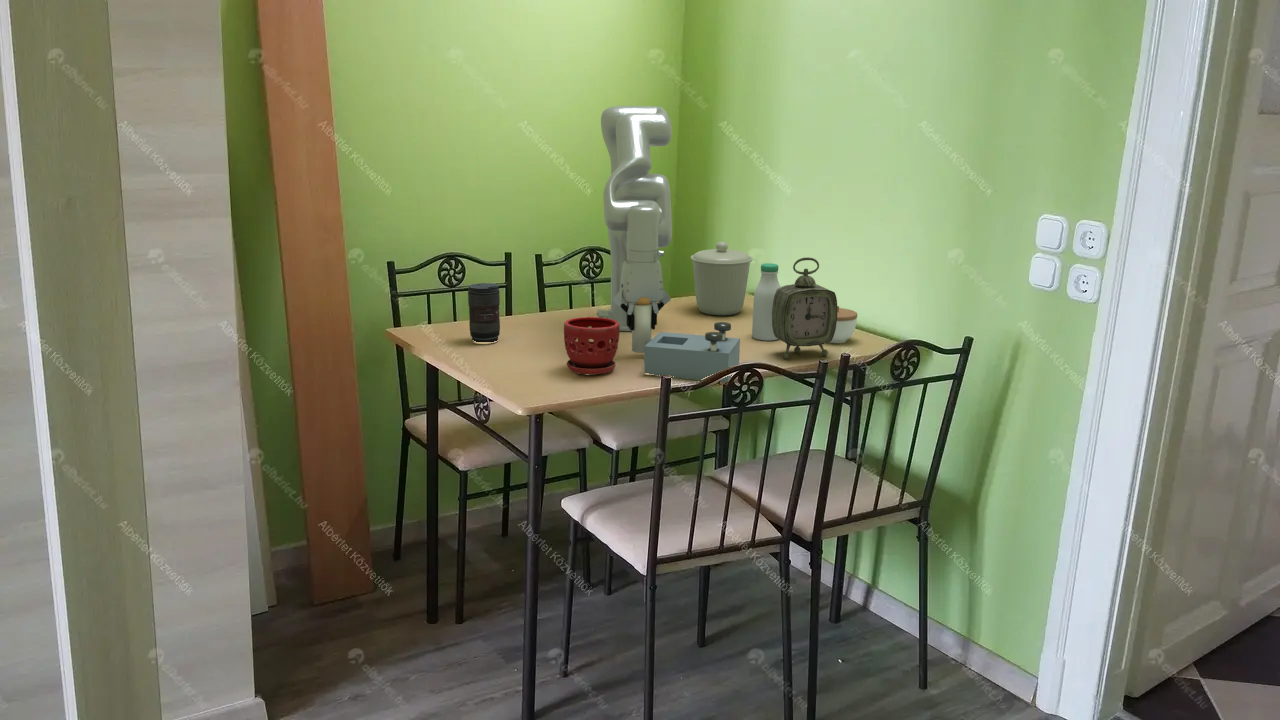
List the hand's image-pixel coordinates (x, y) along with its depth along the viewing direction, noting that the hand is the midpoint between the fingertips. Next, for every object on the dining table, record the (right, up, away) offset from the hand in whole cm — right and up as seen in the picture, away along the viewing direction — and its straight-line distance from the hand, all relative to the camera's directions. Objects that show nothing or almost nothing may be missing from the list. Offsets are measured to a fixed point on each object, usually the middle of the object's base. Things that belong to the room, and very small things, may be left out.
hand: (641, 327), depth 249 cm
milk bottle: (+34, -2, +21) cm, 40 cm away
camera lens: (-41, -3, +14) cm, 44 cm away
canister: (+23, +6, +49) cm, 54 cm away
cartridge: (0, -6, +2) cm, 6 cm away
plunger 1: (+17, -9, -17) cm, 25 cm away
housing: (+12, -10, -9) cm, 19 cm away
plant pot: (-12, -11, -10) cm, 19 cm away
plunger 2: (+19, -6, -7) cm, 22 cm away
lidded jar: (+52, -3, +19) cm, 55 cm away
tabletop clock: (+40, -7, +5) cm, 41 cm away
